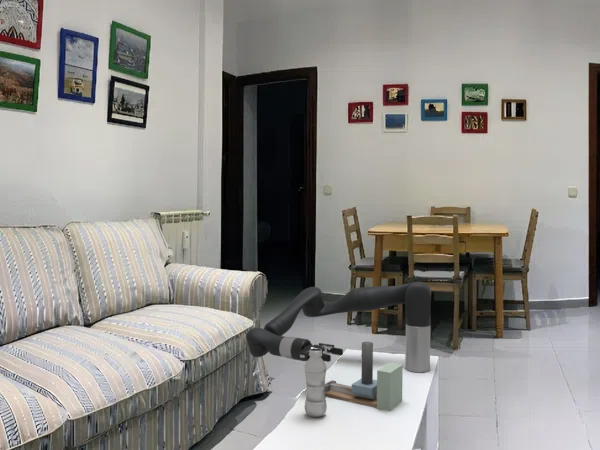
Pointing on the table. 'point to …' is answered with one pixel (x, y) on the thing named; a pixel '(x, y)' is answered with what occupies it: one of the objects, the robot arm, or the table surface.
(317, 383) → the plastic bottle
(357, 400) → the rail
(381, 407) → the gauge cabinet
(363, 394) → the cylinder
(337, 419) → the table surface
